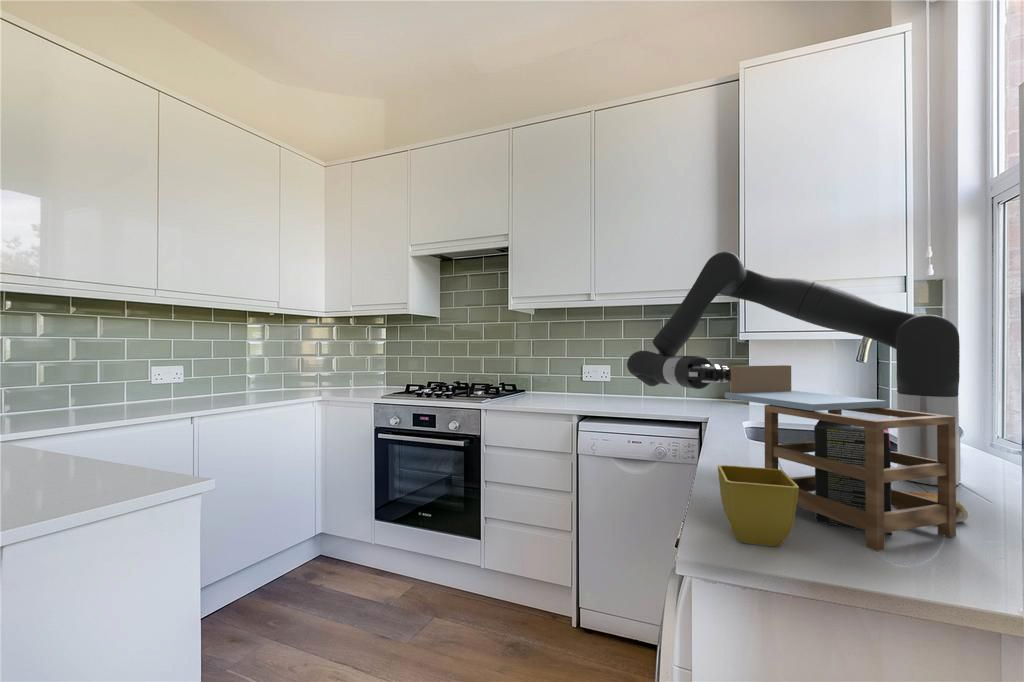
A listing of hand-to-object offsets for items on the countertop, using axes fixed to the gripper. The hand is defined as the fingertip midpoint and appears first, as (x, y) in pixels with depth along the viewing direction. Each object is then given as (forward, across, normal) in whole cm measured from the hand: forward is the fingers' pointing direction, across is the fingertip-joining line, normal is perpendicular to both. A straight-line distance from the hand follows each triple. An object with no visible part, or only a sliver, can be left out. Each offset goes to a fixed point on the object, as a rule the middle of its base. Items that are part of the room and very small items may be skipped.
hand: (744, 376), depth 92 cm
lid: (+12, 0, +4) cm, 13 cm away
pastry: (+23, +14, +22) cm, 34 cm away
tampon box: (+21, 0, +21) cm, 30 cm away
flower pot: (+22, -20, +21) cm, 37 cm away
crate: (+21, 0, +21) cm, 30 cm away
